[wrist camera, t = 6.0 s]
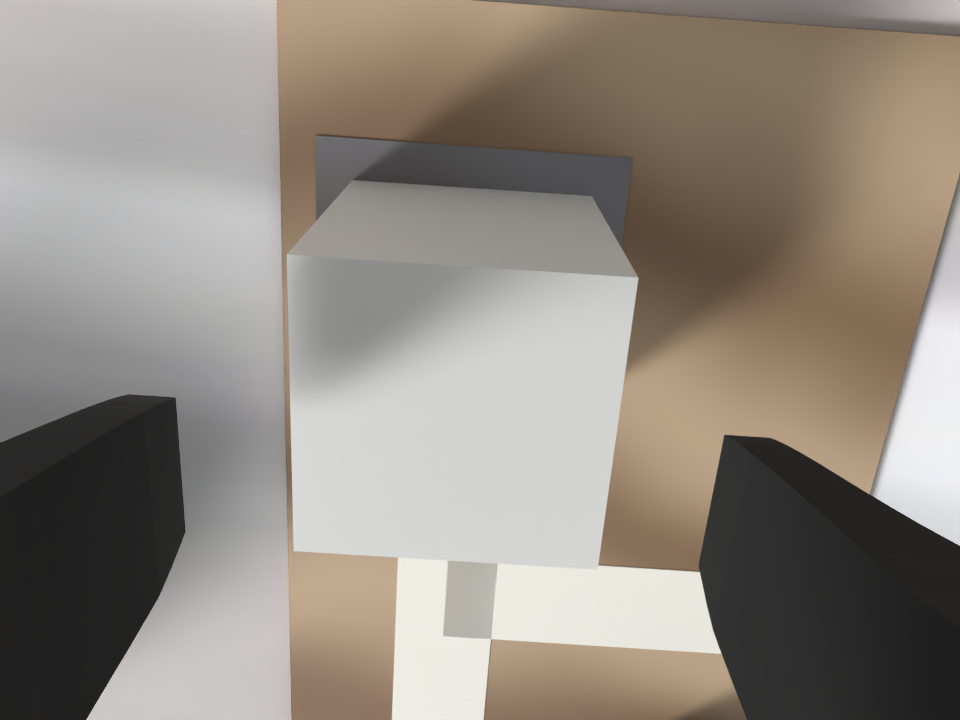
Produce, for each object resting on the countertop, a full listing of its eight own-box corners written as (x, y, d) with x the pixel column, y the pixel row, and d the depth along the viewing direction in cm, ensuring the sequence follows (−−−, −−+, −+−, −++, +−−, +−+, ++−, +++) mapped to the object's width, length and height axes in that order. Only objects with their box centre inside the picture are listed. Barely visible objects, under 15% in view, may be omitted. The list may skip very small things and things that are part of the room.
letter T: (761, 749, 23) (762, 750, 23) (391, 726, 23) (391, 728, 23) (834, 464, 20) (835, 465, 20) (402, 435, 20) (402, 436, 20)
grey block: (567, 411, 19) (597, 569, 14) (350, 398, 19) (293, 551, 14) (591, 196, 17) (638, 277, 12) (352, 180, 17) (286, 254, 12)
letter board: (762, 856, 25) (766, 867, 25) (296, 828, 25) (293, 839, 25) (988, 38, 17) (998, 39, 16) (279, -14, 16) (275, -15, 16)
